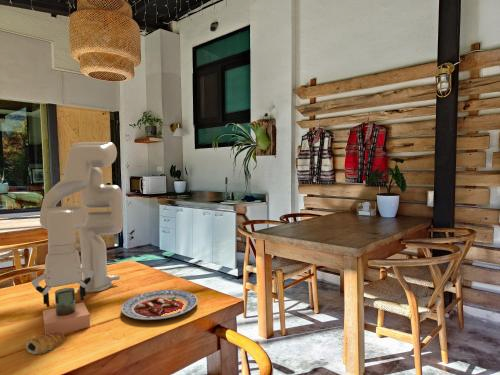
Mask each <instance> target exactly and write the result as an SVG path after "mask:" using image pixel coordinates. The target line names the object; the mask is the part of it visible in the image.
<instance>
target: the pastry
mask: <svg viewBox="0 0 500 375" xmlns="http://www.w3.org/2000/svg"><path fill="white" fill-rule="evenodd" d="M65 336H66V335H65V333H60V332H55V333H47V334H45V333H41V334H39V335H38V336H33V337H32V338H31V339H28V341H27V343H26V345H25V350H26V351H27V353H29V354H34V355H42V353H43V354H46V353H47V352H48V351H51V350H54V349H55V348H58V347H59V346H61V345H62V344H63V343H64V342H65V341H66V337H65ZM58 345H59V346H58Z"/></svg>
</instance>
